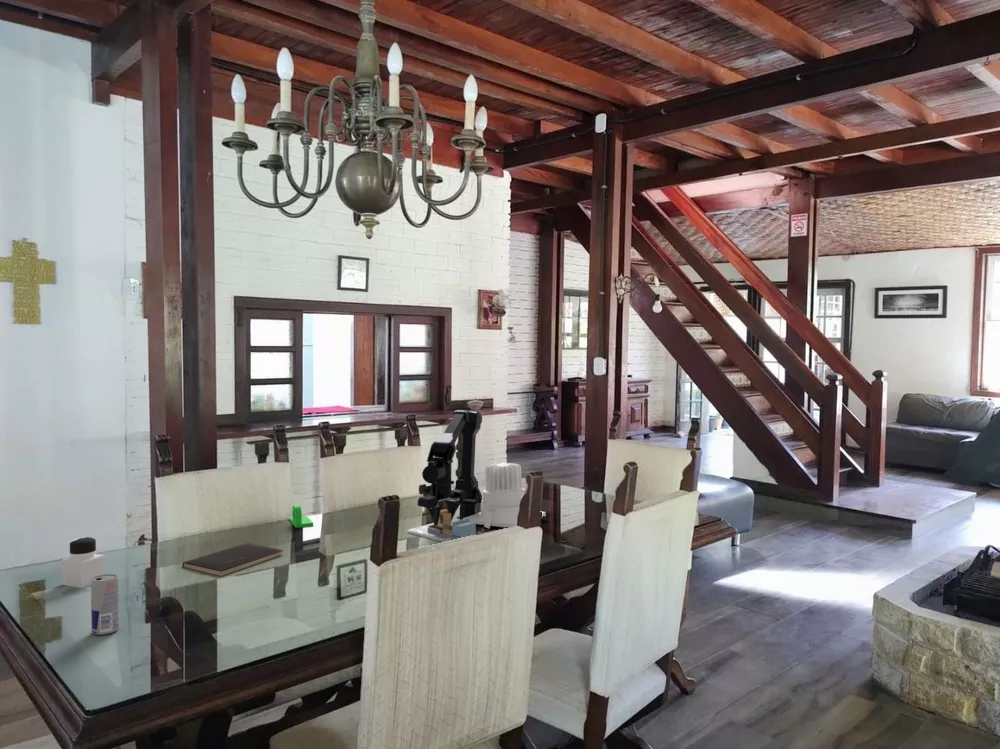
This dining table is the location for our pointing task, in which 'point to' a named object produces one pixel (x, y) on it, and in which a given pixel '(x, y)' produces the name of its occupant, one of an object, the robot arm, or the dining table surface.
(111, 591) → the energy drink
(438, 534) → the seat jig
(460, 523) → the block
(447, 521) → the block
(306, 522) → the mechanical part
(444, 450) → the robot arm
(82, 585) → the medicine bottle
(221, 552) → the hardcover book
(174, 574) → the dining table surface
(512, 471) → the recessed light fixture
